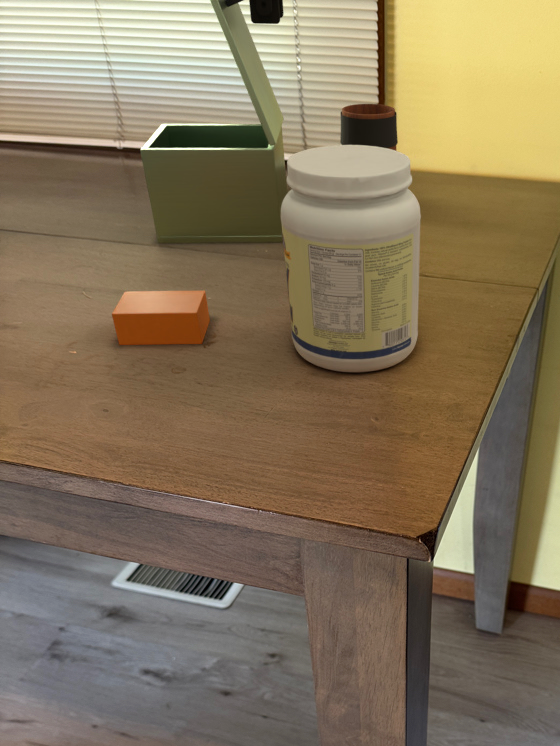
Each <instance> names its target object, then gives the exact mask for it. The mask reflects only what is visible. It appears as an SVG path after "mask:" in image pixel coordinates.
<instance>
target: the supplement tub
mask: <svg viewBox="0 0 560 746" xmlns="http://www.w3.org/2000/svg"><path fill="white" fill-rule="evenodd" d="M286 166H287V175H286V183H287V186H288V187H289V188H290V190H289V191H287V195H286V196H285V198H284V200H283V202H282V206H281V223H282V233H283V240H282V244H283V253H284V264H285V273H286V284H287V285H286V286H287V295H288V303H289V304H288V307H289V318H290V326H291V327H290V328H291V340H292V343H293V345H294V348H295V350H296V352H298V354H299V355H300V356H301V358H303V359H304V360H305V361H307V362H309V363H311V364H313V365H314V366H317V367H320V368H322V369H326V370H330V371H335V372H342V373H368V372H374V371H380V370H384V369H388V368H390V367H393V366H395V365H397V364H399V363H401V362H402V361H404V360H405V359H406V358H408V357H409V355H411V353H412V352H413V350H414V348H415V347H416V345H417V341H418V336H419V300H420V299H419V296H420V295H419V294H420V256H421V252H420V251H421V219H422V214H421V206H420V203H419V201H418V198H417V197H416V195H415V194H414V192H413V191H411V189H409V187H410V186H411V185H412V183H413V176H412V174H411V159H410V157H409V156H408V155H407V154H406V153H403V152H400V151H398V150H396V151H395V150H392V149H387V148H382V147H376V146H366V145H342V144H335V145H324V146H317V147H311V148H307V149H303V150H300V151H298V152H295V153H293V154H292V155H290V156H289V157H288V158H287V161H286Z"/></svg>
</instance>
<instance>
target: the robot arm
mask: <svg viewBox="0 0 560 746" xmlns="http://www.w3.org/2000/svg"><path fill="white" fill-rule="evenodd" d="M248 1H249V4H248V5H249V13H250V22H251V23H252V24H256V25H257V24H258V25H278V24H279V23H280V22H281V19H282V18H283V17H284V0H248Z"/></svg>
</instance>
